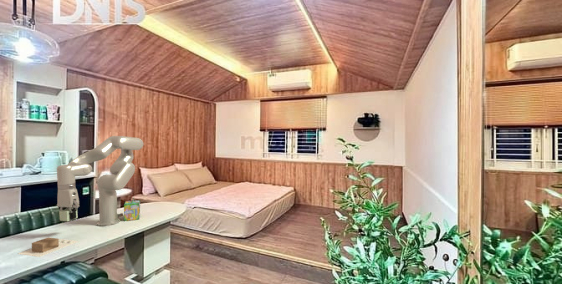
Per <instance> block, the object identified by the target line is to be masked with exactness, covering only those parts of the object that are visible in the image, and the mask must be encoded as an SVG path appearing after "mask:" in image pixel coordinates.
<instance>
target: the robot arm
mask: <svg viewBox="0 0 562 284" xmlns="http://www.w3.org/2000/svg"><path fill="white" fill-rule="evenodd" d="M143 147H144V141H143V140H142V139H141V138H140V137H133V136H125V135H112V136H109V137H108V138H106V139H104V141H102V142H101V143H100V144H98V145H97V146H95V147H94V148H93V149H90V150H88V151H86V152H84V153H82V154H81V155H78V156H77V157H75V158H73V159H72V160H71V161H70V162H69V163H68V164H62V165H58V166H57V167H56V179H57V181H56V182H57V204H56V206H57V207H58V209H59V211H61V210H64V209H67V208H69V210H70V213H69V215H70V221H72V219H73V220H76V219H77V218H76V211H77V212H78V209H79V207H80V198H79V193H78V189H77V188H76V177H85V176H88V175H90V174H91V172H92V171H93V167H92V165H91V164H92V163H95V162H99V161H102V160H104V159H106V158H107V157H108V156H110V155H112V153H114V152H115V151H116V150H118V149H119V150H120V155H119V156H118V157H117V159H116V160H115V161H114V162H113V164H112V165H110V168H109V173H110V174H102V175H101V176H99V177H98V179H97V181H96V182H97V183H96V184H97V190H98V204H99V205H98V207H99V211H98V213H99V221H97V222H96V226H97V227H98V226H99V227H105V226H106V227H107V226H112V225H115V224H118V223H120V221H121V219H120V217H122V216H123V217H124V212H121V213H118V200H117V199H118V195H117V191H120V190H122V189H123V188H125V187H126V185H127V184H128V183H129V181H130V180H131V179H132V177H133V175H134V174H135V172H136V166H135V164H134V163H133V160H134V152H133V151H139V150H141V149H143ZM72 208H73V209H72ZM75 218H76V219H75Z"/></svg>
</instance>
